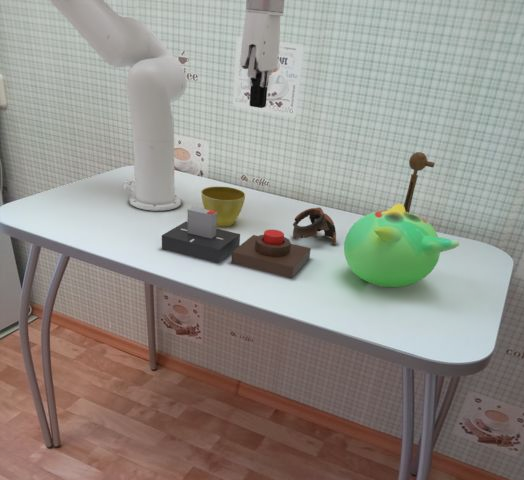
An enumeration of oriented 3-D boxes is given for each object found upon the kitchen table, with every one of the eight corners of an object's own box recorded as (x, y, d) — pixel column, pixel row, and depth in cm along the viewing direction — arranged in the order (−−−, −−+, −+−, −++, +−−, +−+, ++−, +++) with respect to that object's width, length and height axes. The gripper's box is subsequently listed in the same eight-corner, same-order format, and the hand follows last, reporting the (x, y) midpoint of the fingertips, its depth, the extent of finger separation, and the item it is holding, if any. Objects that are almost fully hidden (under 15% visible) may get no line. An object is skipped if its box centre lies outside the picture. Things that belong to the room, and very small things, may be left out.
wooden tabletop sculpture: (415, 240, 122) (438, 153, 111) (410, 246, 119) (433, 157, 108) (391, 234, 124) (412, 148, 113) (385, 239, 121) (406, 151, 110)
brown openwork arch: (339, 252, 113) (328, 222, 107) (299, 264, 116) (286, 235, 111) (339, 221, 121) (328, 192, 115) (301, 233, 124) (289, 204, 119)
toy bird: (411, 265, 109) (429, 197, 101) (445, 303, 95) (469, 228, 87) (329, 263, 106) (342, 193, 98) (353, 302, 92) (369, 224, 84)
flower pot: (228, 234, 115) (230, 203, 111) (191, 223, 119) (192, 192, 115) (251, 222, 122) (253, 193, 118) (215, 212, 126) (217, 183, 122)
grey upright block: (187, 233, 105) (187, 208, 102) (192, 230, 107) (192, 205, 104) (211, 238, 104) (212, 213, 101) (216, 235, 106) (217, 210, 103)
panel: (161, 249, 105) (161, 234, 103) (185, 234, 113) (185, 220, 111) (218, 263, 101) (219, 248, 100) (239, 247, 109) (240, 233, 108)
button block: (231, 263, 102) (232, 242, 100) (252, 245, 111) (254, 225, 108) (292, 278, 99) (294, 257, 96) (309, 259, 107) (312, 238, 105)
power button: (260, 243, 101) (261, 234, 100) (267, 237, 104) (268, 228, 103) (278, 247, 100) (279, 238, 99) (285, 241, 103) (286, 232, 102)
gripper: (261, 5, 108) (255, 100, 118) (232, 1, 96) (227, 108, 106) (295, 9, 106) (285, 105, 116) (268, 5, 94) (260, 113, 104)
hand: (257, 106), depth 111 cm, fingers closed
